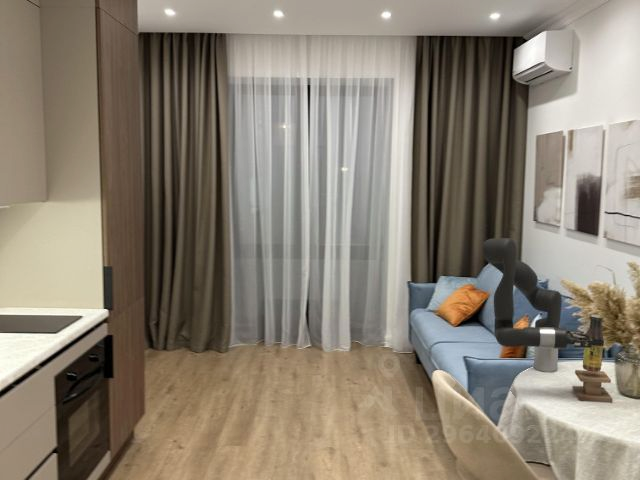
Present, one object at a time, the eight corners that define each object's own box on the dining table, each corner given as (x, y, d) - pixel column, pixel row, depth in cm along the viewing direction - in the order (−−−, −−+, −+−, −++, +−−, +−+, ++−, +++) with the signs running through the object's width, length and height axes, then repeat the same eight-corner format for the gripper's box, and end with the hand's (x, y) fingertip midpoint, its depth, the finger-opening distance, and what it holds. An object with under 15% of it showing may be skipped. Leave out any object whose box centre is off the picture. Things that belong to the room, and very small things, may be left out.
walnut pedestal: (572, 389, 225) (573, 369, 224) (603, 391, 223) (604, 370, 222) (579, 400, 214) (580, 379, 213) (612, 402, 212) (613, 380, 211)
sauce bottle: (589, 372, 214) (592, 318, 211) (578, 367, 220) (581, 314, 217) (605, 371, 215) (609, 317, 213) (594, 366, 221) (597, 313, 219)
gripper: (556, 332, 211) (607, 335, 208) (548, 322, 225) (596, 325, 222) (555, 353, 212) (606, 356, 209) (547, 342, 226) (595, 344, 223)
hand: (600, 340), depth 216 cm, fingers closed on sauce bottle, 6 cm apart
